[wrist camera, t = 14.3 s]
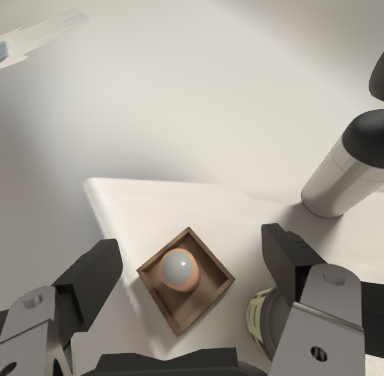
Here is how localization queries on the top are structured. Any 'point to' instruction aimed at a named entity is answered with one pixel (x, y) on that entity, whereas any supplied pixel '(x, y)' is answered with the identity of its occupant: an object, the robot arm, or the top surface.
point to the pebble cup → (180, 271)
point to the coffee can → (267, 320)
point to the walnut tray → (186, 302)
